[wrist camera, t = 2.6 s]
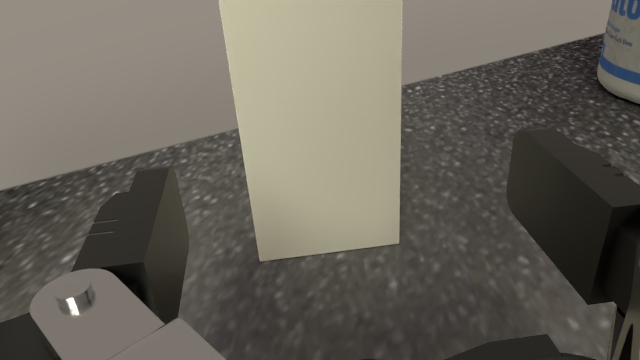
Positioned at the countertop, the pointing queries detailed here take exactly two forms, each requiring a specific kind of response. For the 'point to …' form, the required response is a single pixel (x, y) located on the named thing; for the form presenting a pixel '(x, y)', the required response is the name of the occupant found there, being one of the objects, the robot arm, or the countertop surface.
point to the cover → (318, 120)
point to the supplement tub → (622, 51)
